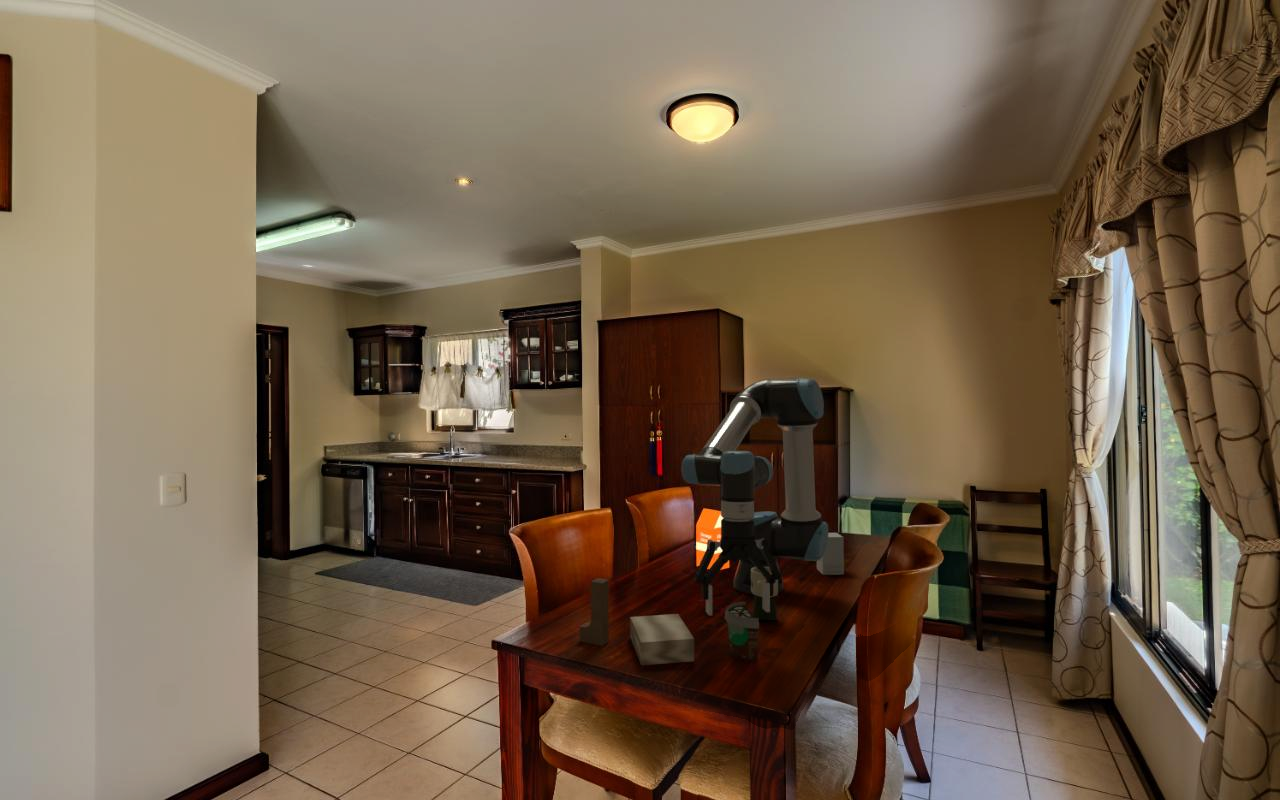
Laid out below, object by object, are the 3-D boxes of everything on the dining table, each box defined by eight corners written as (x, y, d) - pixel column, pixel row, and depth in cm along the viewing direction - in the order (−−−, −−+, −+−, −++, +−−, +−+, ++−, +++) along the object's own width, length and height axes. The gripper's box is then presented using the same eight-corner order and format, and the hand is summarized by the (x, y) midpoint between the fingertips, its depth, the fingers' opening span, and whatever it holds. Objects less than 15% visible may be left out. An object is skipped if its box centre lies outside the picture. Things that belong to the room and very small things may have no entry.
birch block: (678, 634, 150) (677, 613, 150) (694, 661, 134) (694, 638, 134) (630, 637, 148) (630, 617, 148) (641, 665, 132) (641, 642, 132)
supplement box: (844, 575, 200) (844, 537, 200) (822, 575, 200) (821, 537, 200) (837, 569, 207) (837, 532, 207) (816, 569, 207) (815, 532, 207)
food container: (719, 643, 143) (719, 601, 143) (744, 642, 144) (744, 600, 144) (731, 666, 131) (731, 620, 131) (759, 664, 132) (759, 619, 132)
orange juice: (711, 562, 217) (710, 506, 217) (729, 567, 210) (729, 510, 210) (696, 566, 212) (695, 509, 212) (714, 571, 205) (713, 512, 205)
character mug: (758, 610, 166) (757, 563, 166) (783, 614, 163) (783, 566, 163) (745, 623, 156) (744, 573, 157) (772, 628, 153) (771, 576, 153)
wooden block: (609, 641, 145) (608, 579, 145) (602, 646, 142) (602, 583, 142) (586, 637, 148) (585, 576, 148) (579, 641, 145) (578, 579, 145)
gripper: (688, 523, 132) (688, 620, 132) (795, 520, 136) (796, 614, 136) (680, 517, 139) (680, 609, 139) (782, 514, 143) (782, 603, 143)
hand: (737, 612), depth 137 cm, fingers open, 13 cm apart
